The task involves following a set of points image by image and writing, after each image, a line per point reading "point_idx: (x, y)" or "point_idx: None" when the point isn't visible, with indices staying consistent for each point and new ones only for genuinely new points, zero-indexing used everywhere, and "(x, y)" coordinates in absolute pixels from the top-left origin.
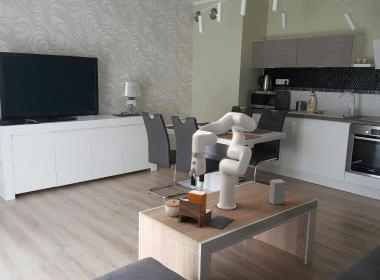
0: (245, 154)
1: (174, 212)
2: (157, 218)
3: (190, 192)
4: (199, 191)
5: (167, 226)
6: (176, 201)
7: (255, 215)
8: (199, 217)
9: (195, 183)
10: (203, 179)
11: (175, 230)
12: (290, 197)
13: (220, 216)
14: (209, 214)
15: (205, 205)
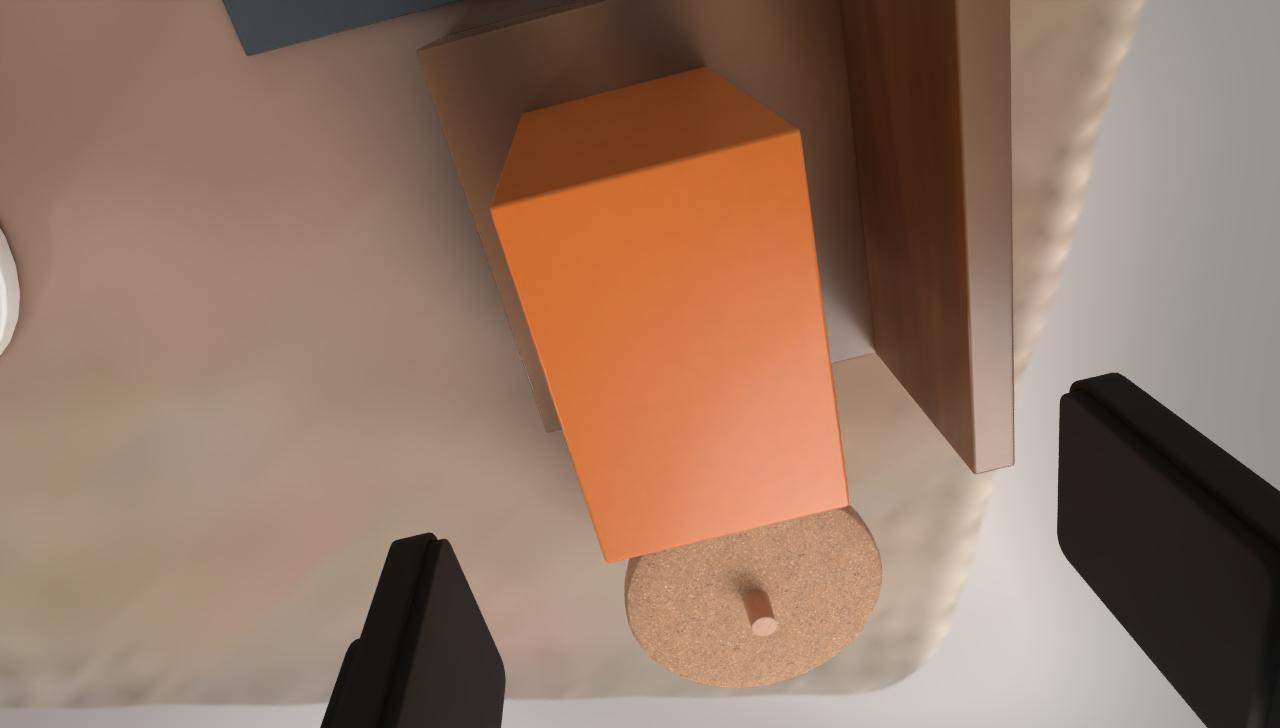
0: None
1: None
2: (933, 506)
3: (824, 469)
4: (590, 393)
5: (1052, 278)
6: (705, 599)
7: None
8: None
9: (1179, 425)
10: (418, 616)
11: (1100, 120)
12: None
13: (237, 1)
14: (510, 23)
15: (548, 123)
